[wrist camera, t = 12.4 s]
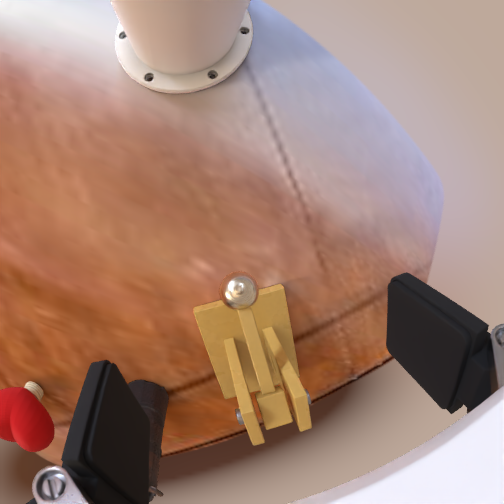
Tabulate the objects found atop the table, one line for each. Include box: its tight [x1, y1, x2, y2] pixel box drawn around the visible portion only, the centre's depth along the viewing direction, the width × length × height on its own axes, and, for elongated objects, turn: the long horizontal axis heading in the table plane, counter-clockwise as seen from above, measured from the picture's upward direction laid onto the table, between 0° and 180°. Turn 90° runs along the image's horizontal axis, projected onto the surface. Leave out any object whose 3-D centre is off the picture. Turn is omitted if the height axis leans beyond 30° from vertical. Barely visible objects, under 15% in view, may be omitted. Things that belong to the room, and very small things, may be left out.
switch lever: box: [219, 271, 293, 429], centre depth 23 cm, size 13×3×3 cm
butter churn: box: [128, 380, 169, 502], centre depth 18 cm, size 9×10×28 cm
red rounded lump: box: [0, 382, 54, 452], centre depth 23 cm, size 9×7×10 cm
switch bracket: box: [194, 284, 312, 445], centre depth 26 cm, size 12×9×12 cm
